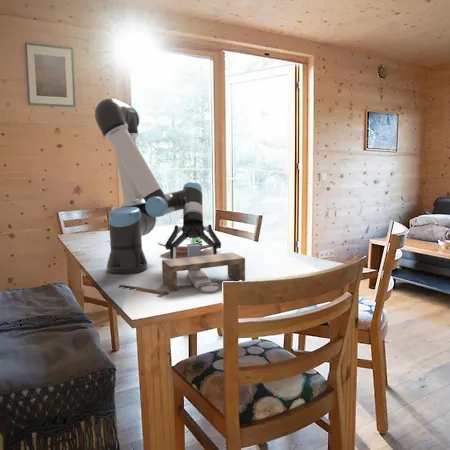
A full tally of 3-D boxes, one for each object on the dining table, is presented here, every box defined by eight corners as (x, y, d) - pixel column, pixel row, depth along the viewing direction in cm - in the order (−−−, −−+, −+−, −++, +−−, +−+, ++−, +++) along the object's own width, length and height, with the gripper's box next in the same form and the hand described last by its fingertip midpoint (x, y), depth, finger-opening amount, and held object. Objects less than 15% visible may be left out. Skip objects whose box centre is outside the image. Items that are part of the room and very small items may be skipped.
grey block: (195, 287, 136) (194, 254, 135) (186, 273, 153) (185, 244, 152) (210, 286, 137) (210, 253, 136) (200, 272, 155) (199, 243, 153)
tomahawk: (106, 295, 134) (106, 291, 134) (122, 286, 140) (121, 283, 140) (155, 303, 125) (154, 299, 124) (169, 294, 131) (168, 290, 131)
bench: (171, 291, 133) (170, 266, 132) (162, 283, 142) (161, 260, 141) (245, 281, 143) (244, 257, 142) (232, 274, 152) (232, 252, 151)
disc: (206, 294, 130) (205, 289, 129) (194, 290, 135) (194, 284, 135) (222, 291, 133) (222, 285, 133) (211, 286, 139) (211, 281, 138)
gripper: (225, 221, 165) (228, 268, 152) (161, 223, 163) (159, 270, 151) (225, 209, 159) (229, 257, 146) (159, 211, 157) (157, 259, 145)
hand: (193, 264), depth 149 cm, fingers open, 13 cm apart
